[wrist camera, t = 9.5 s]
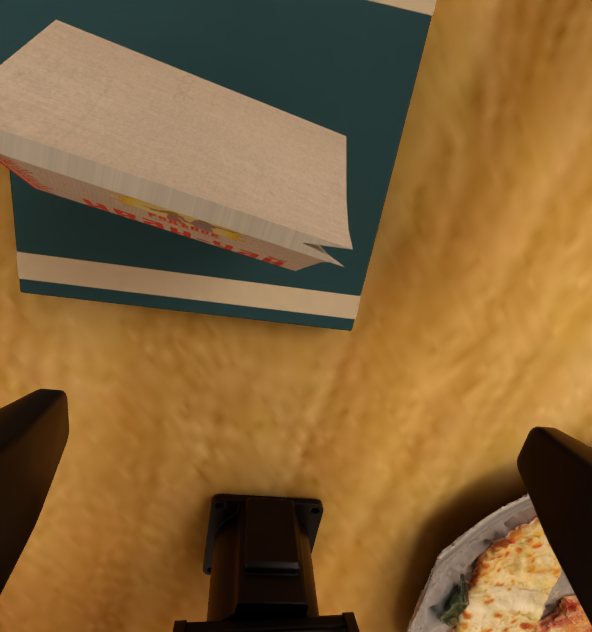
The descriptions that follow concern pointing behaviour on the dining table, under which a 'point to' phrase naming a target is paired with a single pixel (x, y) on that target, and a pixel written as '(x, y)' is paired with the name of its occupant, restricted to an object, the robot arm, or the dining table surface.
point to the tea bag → (171, 149)
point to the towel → (257, 83)
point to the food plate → (499, 581)
